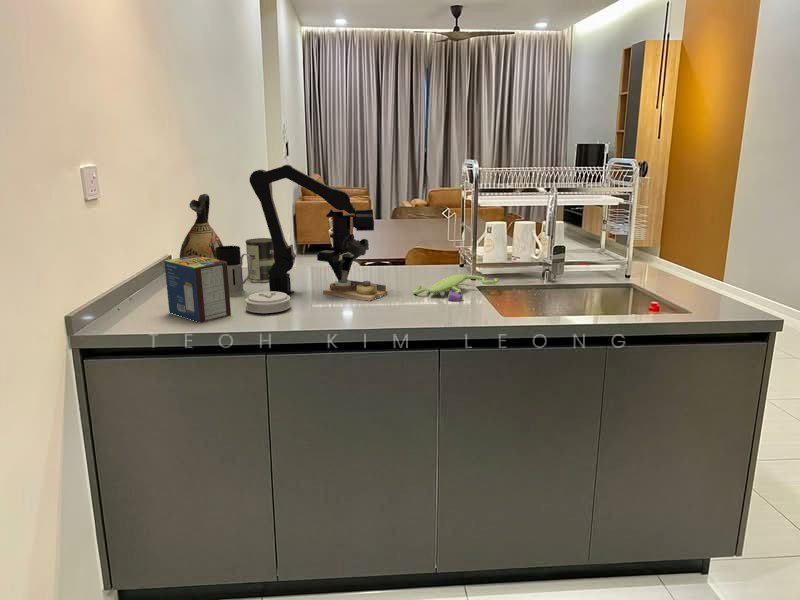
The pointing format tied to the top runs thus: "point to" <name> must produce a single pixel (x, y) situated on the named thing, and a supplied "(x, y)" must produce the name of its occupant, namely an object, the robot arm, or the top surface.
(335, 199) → the robot arm
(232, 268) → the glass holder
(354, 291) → the carrier board
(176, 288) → the protein box
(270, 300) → the lid
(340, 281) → the planet gear
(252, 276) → the printed mug
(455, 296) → the figurine
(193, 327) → the top surface
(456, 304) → the top surface
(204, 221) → the ceramic jug
